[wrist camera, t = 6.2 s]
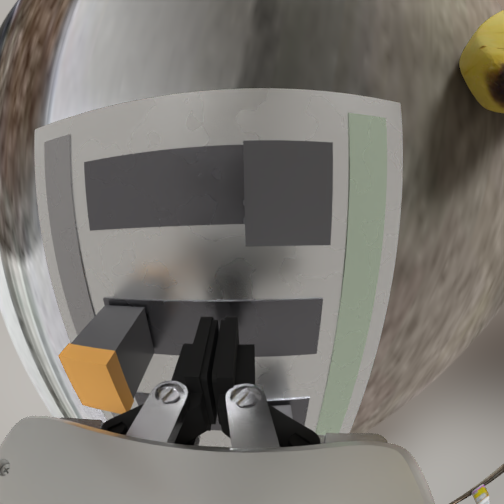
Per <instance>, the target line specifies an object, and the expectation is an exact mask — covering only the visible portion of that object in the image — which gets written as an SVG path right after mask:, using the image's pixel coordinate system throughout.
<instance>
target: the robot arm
mask: <svg viewBox="0 0 504 504" xmlns="http://www.w3.org/2000/svg"><path fill="white" fill-rule="evenodd" d="M217 415H218V421H219V425H221V428H222V432H223V433H224V434H225V435H226V436H228V437H229V438H230V439H231V445H232V448H221V447H204V446H198V445H199V442H200V435H201V434H203V433H204V432H206V431H211V424H216V419H217ZM0 504H435V502H434V499H433V496H432V494H431V491H430V488H429V486H428V483H427V481H426V479H425V477H424V475H423V473H422V470H421V468H420V467H419V465H418V463H417V462H416V460H415V459H414V457H413V456H412V455H411V454H410V453H409V452H408V451H407V450H406V449H404V448H403V447H401V446H398V445H395V444H390V443H387V440H386V439H385V438H384V437H383V436H381V435H379V434H373V433H362V434H352V433H326V434H325V435H317V434H316V433H315V432H314V431H312V430H311V429H309V428H307V427H306V426H304V425H302V424H300V423H299V422H297V421H295V420H294V419H292V418H290V417H289V416H287V415H285V414H284V413H282V412H281V411H279V410H277V409H276V408H274V407H273V406H271V405H270V404H268V403H267V399H266V395H265V393H264V391H263V390H262V389H261V388H260V387H258V386H256V385H255V344H239V329H238V317H226V318H225V320H221V323H220V328H219V326H218V320H214V318H213V317H201V318H200V321H199V325H198V328H197V331H196V335H195V338H194V342H193V344H187V343H184V344H183V346H182V349H181V352H180V355H179V358H178V361H177V364H176V367H175V370H174V373H173V376H172V380H170V381H164V382H161V383H159V384H157V385H156V386H155V387H154V388H153V389H152V391H151V393H150V394H149V396H148V398H147V400H146V401H145V403H144V404H142V405H140V406H137V407H135V408H133V409H131V410H129V411H127V412H125V413H122V414H120V415H118V416H116V417H113V418H111V419H109V420H108V421H106V422H105V423H103V422H102V421H101V420H89V419H76V418H55V417H47V416H31V417H26V418H23V419H21V420H20V421H19V422H18V423H17V424H16V425H15V426H14V427H13V428H12V429H11V431H10V432H9V433H8V435H7V436H6V438H5V439H4V441H3V442H2V444H1V446H0Z"/></svg>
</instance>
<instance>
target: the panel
mask: <svg viewBox="0 0 504 504" xmlns="http://www.w3.org/2000/svg"><path fill="white" fill-rule="evenodd" d="M247 140H290V141H317V142H333V200H332V227H331V245H309V246H251V247H246V243H245V203H244V157H243V141H247ZM34 150H35V181H36V194H37V204H38V213H39V221H40V228H41V234H42V240H43V245H44V251H45V256H46V260H47V265H48V269H49V274H50V278H51V282H52V286H53V289H54V293H55V297H56V300H57V303H58V307H59V310H60V313H61V316H62V319H63V322H64V325H65V328H66V331H67V334H68V337H69V339H70V342H71V343H72V342H73V340H74V339H75V338H76V337H77V336H78V335H79V334H80V332H81V331H82V330H83V329H84V328H85V327H86V326H87V325H88V323H89V322H90V321H91V320H92V319H93V318H94V317H95V316H96V315H97V314H98V312H99V311H100V310H101V309H102V308H103V307H104V306H105V305H113V306H131V307H145V312H146V317H147V322H148V326H149V330H150V335H151V339H152V343H153V347H154V351H155V352H154V355H153V357H152V359H151V361H150V363H149V365H148V368H147V370H146V372H145V374H144V376H143V379H142V381H141V383H140V385H139V387H138V390H137V392H136V394H135V396H134V402H133V405H132V407H131V409H133V408H135V407H137V406H140V405H142V404H144V403H145V401H146V400H147V398H148V396H149V394H150V393H151V391H152V389H153V388H154V387H155V386H156V385H157V384H159V383H161V382H164V381H170V380H172V376H173V373H174V370H175V367H176V364H177V361H178V358H179V355H180V352H181V349H182V346H183V344H184V343H187V344H193V342H194V338H195V335H196V331H197V328H198V325H199V321H200V318H201V317H213V318H214V320H218V326H219V328H220V323H221V320H225V318H226V317H238V329H239V344H255V385H256V386H258V387H260V388H261V389H262V390H263V391H264V393H265V395H266V399H267V403H268V404H270V405H271V406H277V405H291V409H292V416H293V419H294V420H295V421H297V422H299V423H300V424H302V425H304V426H306V427H307V428H309V429H311V430H312V431H314V432H315V433H316V434H317V435H325V434H326V433H349V432H350V430H351V427H352V425H353V422H354V420H355V417H356V414H357V412H358V409H359V406H360V404H361V401H362V398H363V395H364V392H365V389H366V386H367V383H368V380H369V377H370V373H371V370H372V367H373V363H374V360H375V356H376V353H377V349H378V345H379V341H380V337H381V333H382V329H383V325H384V320H385V316H386V311H387V307H388V302H389V296H390V291H391V286H392V280H393V274H394V267H395V260H396V253H397V245H398V236H399V227H400V215H401V201H402V180H403V136H402V115H401V103H398V102H394V101H389V100H384V99H378V98H373V97H367V96H360V95H353V94H346V93H338V92H328V91H318V90H304V89H282V88H242V89H220V90H207V91H196V92H186V93H178V94H171V95H164V96H157V97H151V98H146V99H140V100H135V101H130V102H125V103H121V104H116V105H112V106H108V107H104V108H100V109H96V110H92V111H89V112H85V113H82V114H78V115H75V116H72V117H69V118H66V119H63V120H60V121H57V122H54V123H51V124H48V125H45V126H43V127H40V128H38V129H35V148H34ZM131 409H130V410H131ZM102 412H103V413H104V415H105V417H106V419H107V420H109V419H111V418H113V417H116V416H118V415H120V414H118V413H114V412H109V411H105V410H102ZM199 445H200V446H214V447H232V445H231V439H230V438H229V437H228V436H226V435H225V434H224V433H223V432H222V428H221V425H219V421H218V415H217V419H216V424H211V431H206V432H204V433H203V434H201V435H200V442H199Z"/></svg>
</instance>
